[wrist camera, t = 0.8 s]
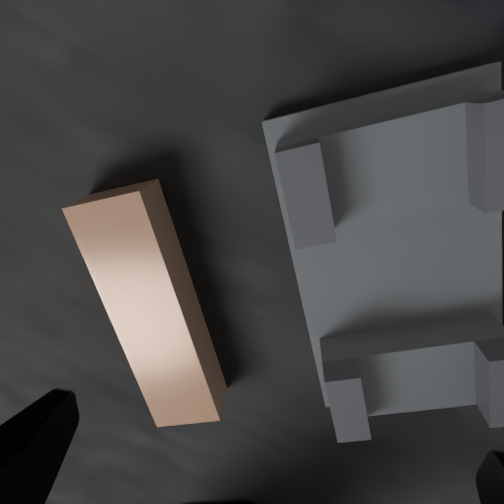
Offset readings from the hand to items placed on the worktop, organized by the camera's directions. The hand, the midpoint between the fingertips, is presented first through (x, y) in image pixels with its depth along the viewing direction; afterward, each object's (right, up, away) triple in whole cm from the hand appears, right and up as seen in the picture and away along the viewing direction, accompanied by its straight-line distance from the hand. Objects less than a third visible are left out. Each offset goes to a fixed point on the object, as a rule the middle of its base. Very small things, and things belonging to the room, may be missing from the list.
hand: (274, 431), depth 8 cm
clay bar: (-6, +1, +15) cm, 16 cm away
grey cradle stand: (+7, +3, +12) cm, 14 cm away
